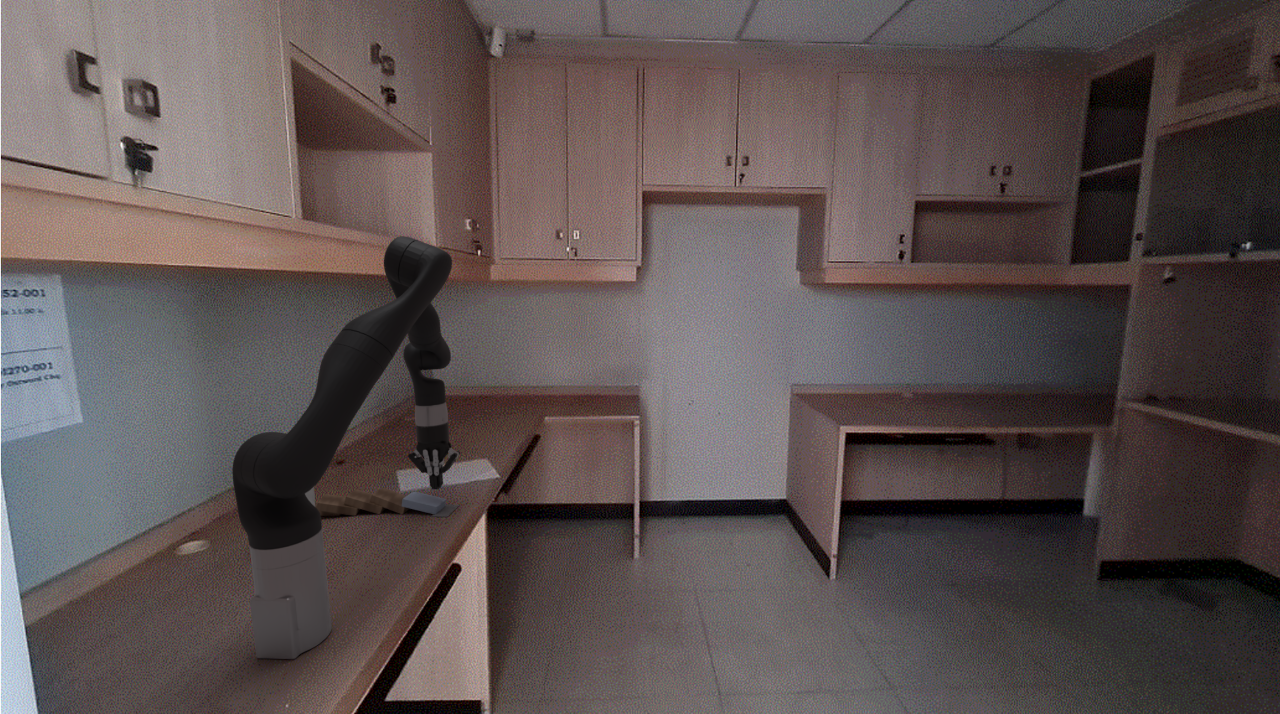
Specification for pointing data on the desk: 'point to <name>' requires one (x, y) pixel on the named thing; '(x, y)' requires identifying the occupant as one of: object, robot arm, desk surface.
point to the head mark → (445, 511)
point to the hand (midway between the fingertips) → (436, 488)
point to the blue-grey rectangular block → (424, 502)
